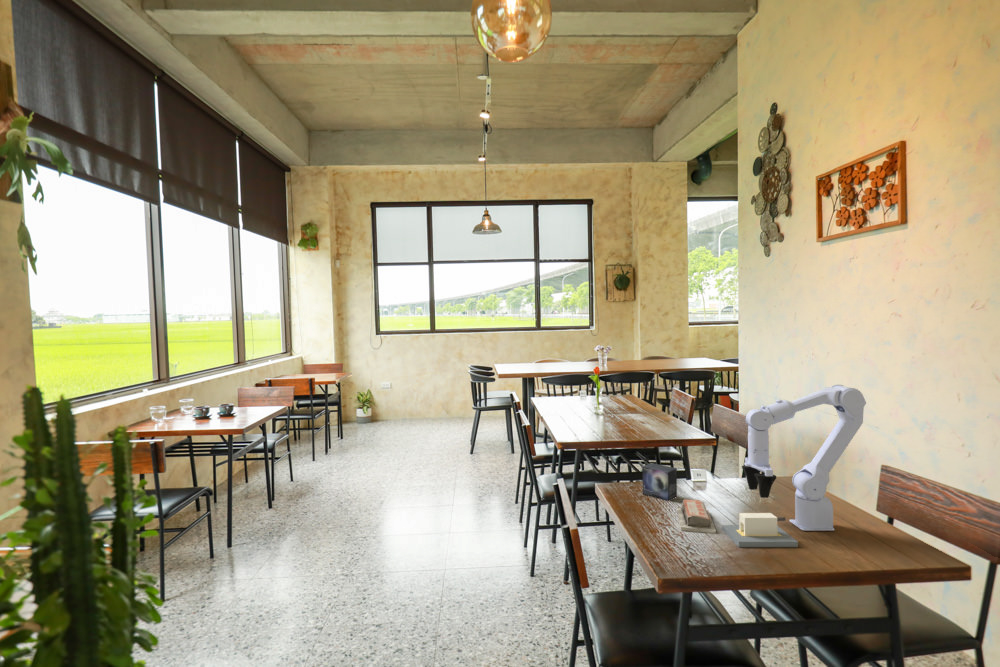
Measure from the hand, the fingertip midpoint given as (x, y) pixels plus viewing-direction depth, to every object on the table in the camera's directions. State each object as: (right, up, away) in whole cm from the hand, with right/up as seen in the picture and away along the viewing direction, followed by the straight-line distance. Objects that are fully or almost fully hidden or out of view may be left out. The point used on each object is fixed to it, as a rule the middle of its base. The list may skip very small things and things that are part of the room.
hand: (758, 493), depth 163 cm
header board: (-5, -10, -11) cm, 15 cm away
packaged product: (-18, -10, +3) cm, 21 cm away
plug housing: (-4, -8, -11) cm, 14 cm away
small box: (-22, -10, +28) cm, 37 cm away
